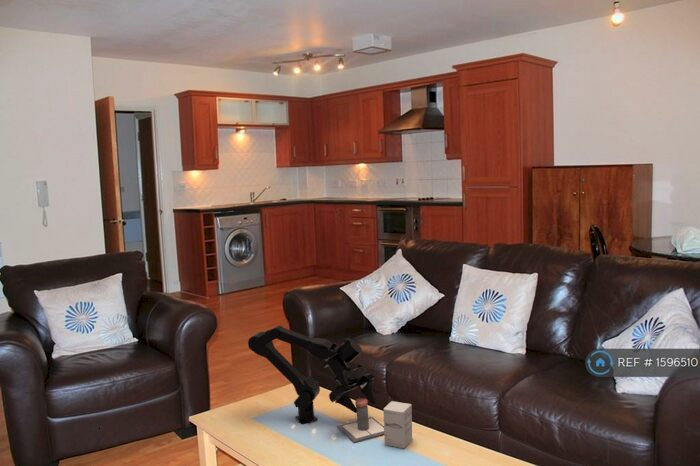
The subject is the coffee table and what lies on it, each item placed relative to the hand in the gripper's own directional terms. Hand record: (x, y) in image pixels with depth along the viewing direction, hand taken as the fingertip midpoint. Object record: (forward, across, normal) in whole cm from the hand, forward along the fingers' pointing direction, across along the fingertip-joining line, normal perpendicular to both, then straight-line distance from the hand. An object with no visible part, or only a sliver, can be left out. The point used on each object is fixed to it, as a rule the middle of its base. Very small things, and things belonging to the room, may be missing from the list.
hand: (365, 407), depth 204 cm
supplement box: (+16, 0, -4) cm, 16 cm away
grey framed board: (+5, 0, +7) cm, 9 cm away
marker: (+4, 0, +6) cm, 8 cm away
